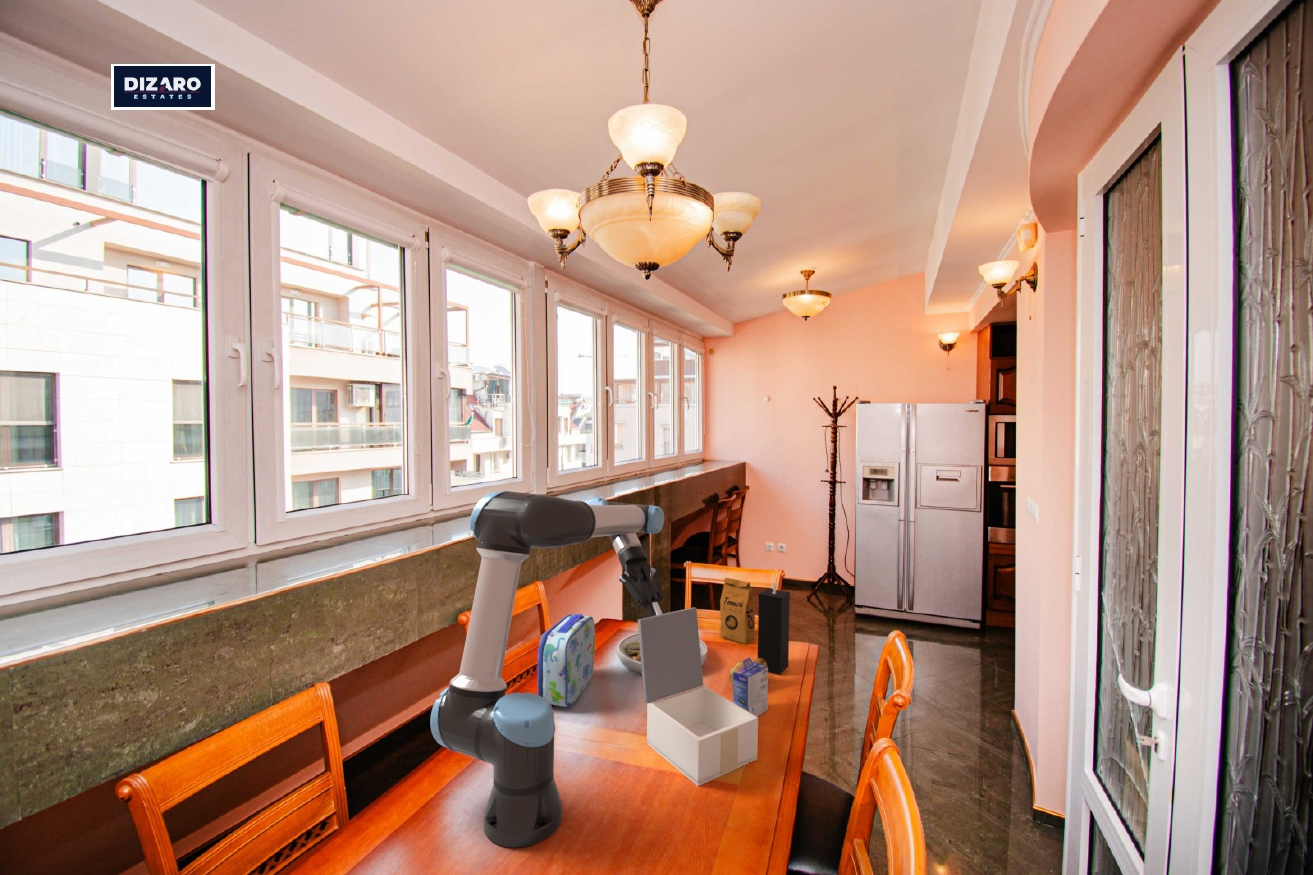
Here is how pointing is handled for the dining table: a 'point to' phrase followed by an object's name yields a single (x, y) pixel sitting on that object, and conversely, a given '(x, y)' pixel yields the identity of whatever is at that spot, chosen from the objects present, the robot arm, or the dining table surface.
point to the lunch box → (566, 659)
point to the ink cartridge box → (751, 687)
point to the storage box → (702, 733)
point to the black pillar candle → (774, 629)
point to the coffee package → (737, 611)
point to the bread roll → (740, 665)
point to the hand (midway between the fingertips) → (662, 626)
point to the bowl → (631, 652)
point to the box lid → (670, 654)
